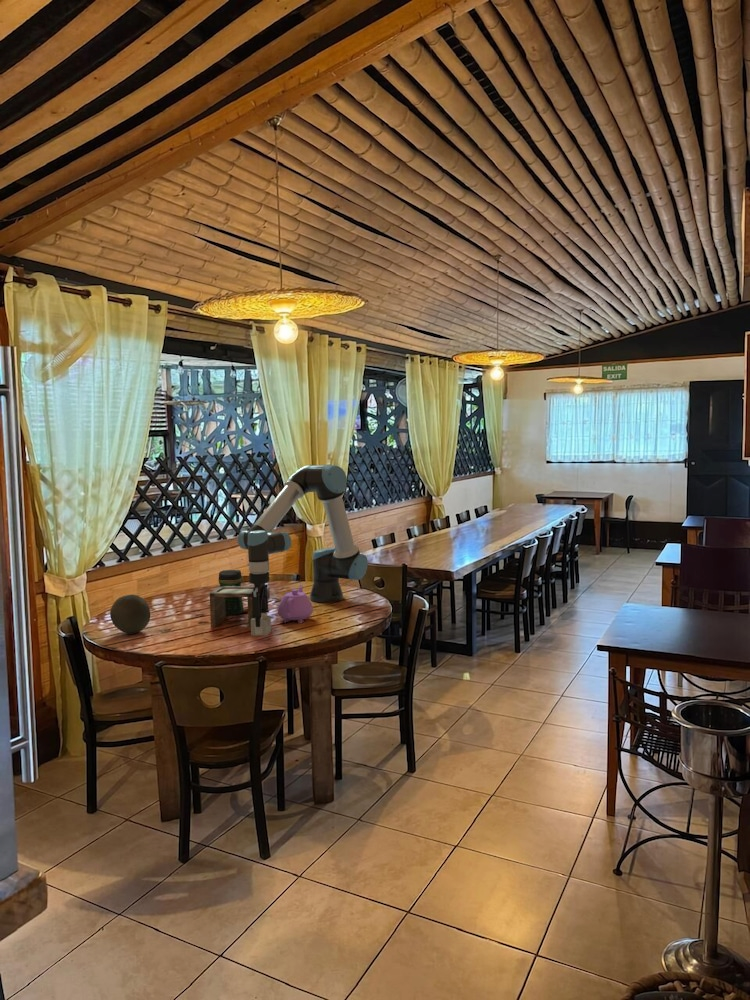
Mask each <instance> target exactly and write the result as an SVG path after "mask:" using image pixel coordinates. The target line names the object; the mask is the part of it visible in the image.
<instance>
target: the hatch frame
mask: <svg viewBox="0 0 750 1000" xmlns="http://www.w3.org/2000/svg"><path fill="white" fill-rule="evenodd" d="M253 588H254V586H248V585H247V586H245V585H244V586H242V585H241V586H220V585H219V586H218V587H217V588H215V589H214V590H212V591H211V592H209V613H210V614H209V616H210V617H209V618H210V627H211V628H216V627H217V626H219V625H220V624H221V623H222V622H223V621H225V620H226V618H227V617H226V616H227V615H226V611H225V597H242V598H247V620H248V626H247V627H248V628H251V619H252V616H253V614H252V594H251V593H252V592H219V591H221V590H223V589H253ZM256 615H257V614H256Z"/></svg>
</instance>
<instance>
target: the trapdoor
mask: <svg viewBox="0 0 750 1000" xmlns="http://www.w3.org/2000/svg"><path fill="white" fill-rule="evenodd" d="M219 592H253V589H223V590H221V591H219ZM267 595H268V600H269V599H270V587H267Z"/></svg>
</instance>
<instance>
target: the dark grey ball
mask: <svg viewBox="0 0 750 1000" xmlns="http://www.w3.org/2000/svg"><path fill="white" fill-rule="evenodd" d="M109 615H110V620H111V623H112V624H113V626H114V627H115V628H117V630H119V631H120V632H122V633H125V634H129V635H130V634H131V635H132V633H133V634H137V633H140V632H142V631H143V630H144V629H145V628H146V627H147V626H148V624H149V623H150V620H151V609H150V605H149V604H148V602H147V600H145V599H144V598H143V597H141V596H139V595H137V594H127V595H123V596H120V597H118V598H117V599H116V600H115V601H114V602H113V604H112V606H111V608H110V612H109Z"/></svg>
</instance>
